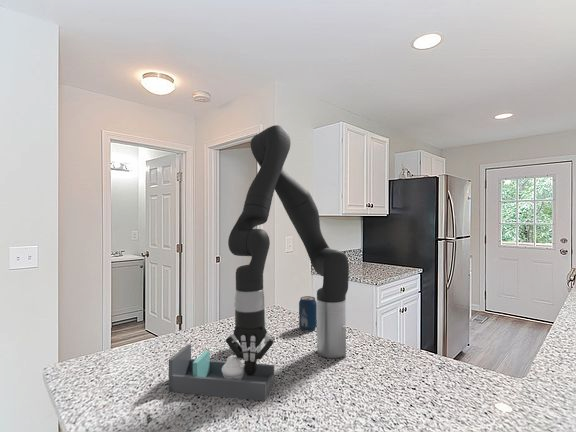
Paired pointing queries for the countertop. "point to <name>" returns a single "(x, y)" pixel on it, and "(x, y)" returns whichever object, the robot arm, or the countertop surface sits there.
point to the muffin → (233, 368)
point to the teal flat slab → (202, 364)
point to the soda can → (307, 313)
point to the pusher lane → (217, 379)
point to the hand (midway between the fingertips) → (250, 374)
